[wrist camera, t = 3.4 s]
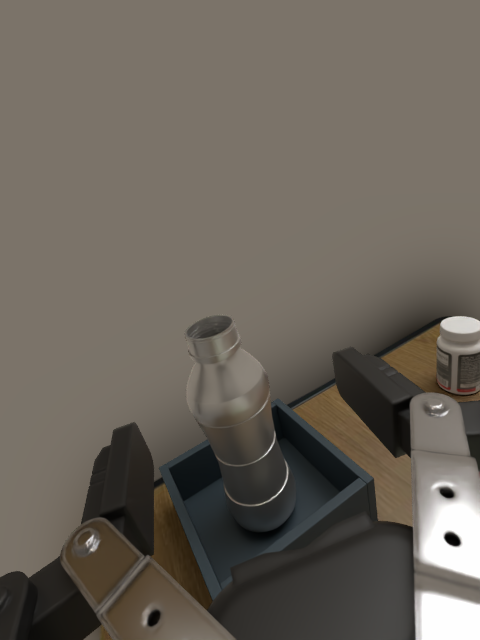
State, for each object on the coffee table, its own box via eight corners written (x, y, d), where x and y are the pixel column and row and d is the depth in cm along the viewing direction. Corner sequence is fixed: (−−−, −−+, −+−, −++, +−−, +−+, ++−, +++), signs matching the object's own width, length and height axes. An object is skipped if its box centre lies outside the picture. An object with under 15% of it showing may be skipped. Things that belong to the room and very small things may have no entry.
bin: (233, 643, 24) (213, 603, 22) (175, 503, 35) (158, 467, 33) (378, 521, 29) (374, 478, 27) (286, 433, 40) (278, 398, 38)
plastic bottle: (314, 498, 32) (274, 311, 23) (269, 560, 28) (201, 362, 19) (263, 467, 36) (215, 301, 28) (218, 516, 32) (146, 340, 24)
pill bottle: (485, 377, 41) (491, 316, 37) (478, 400, 38) (483, 337, 34) (441, 368, 44) (443, 312, 41) (431, 389, 41) (432, 331, 38)
